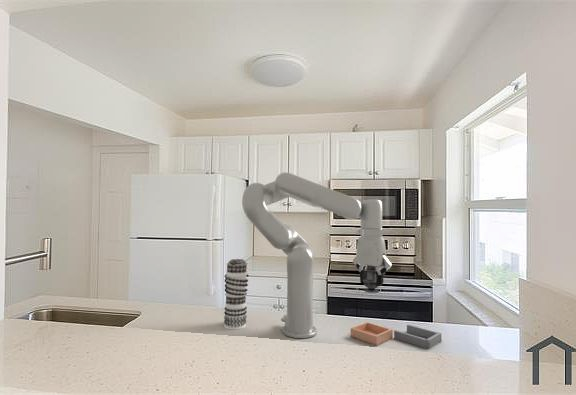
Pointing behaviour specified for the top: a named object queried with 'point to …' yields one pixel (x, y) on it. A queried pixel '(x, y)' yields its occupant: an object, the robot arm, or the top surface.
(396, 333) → the cubby
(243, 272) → the striped cylinder tower
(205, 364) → the top surface
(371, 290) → the chess piece
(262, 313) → the top surface
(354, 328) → the dish
